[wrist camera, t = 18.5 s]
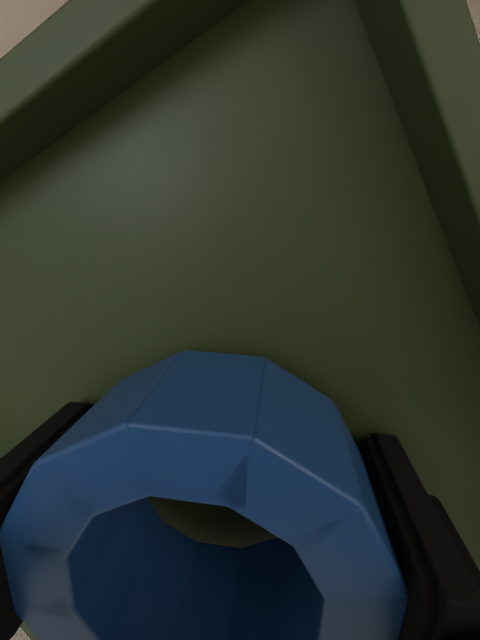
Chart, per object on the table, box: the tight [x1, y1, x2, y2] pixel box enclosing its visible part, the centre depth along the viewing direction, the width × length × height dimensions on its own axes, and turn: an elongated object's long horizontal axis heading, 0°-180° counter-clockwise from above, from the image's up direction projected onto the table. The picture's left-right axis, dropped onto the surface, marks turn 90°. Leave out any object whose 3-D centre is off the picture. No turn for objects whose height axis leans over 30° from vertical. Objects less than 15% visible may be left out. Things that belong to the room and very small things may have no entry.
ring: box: [0, 350, 409, 640], centre depth 7 cm, size 7×7×3 cm
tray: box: [0, 0, 480, 640], centre depth 9 cm, size 20×16×2 cm
